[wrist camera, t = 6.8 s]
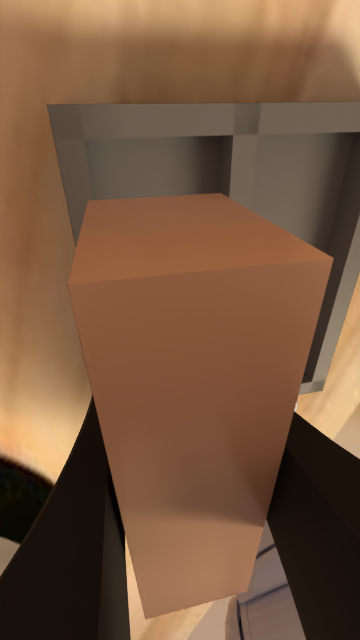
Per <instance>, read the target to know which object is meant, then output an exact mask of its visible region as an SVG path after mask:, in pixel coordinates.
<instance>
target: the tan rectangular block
mask: <svg viewBox="0 0 360 640" xmlns="http://www.w3.org/2000/svg"><path fill="white" fill-rule="evenodd" d="M333 259H334V258H333V257H331V256H329V255H327V254H326V253H324V252H322V251H320V250H319V249H317V248H315V247H313V246H312V245H310V244H308V243H307V242H305V241H303V240H301V239H300V238H298V237H296V236H294V235H293V234H291V233H289V232H287V231H286V230H284V229H282V228H281V227H279V226H277V225H275V224H274V223H272V222H270V221H268V220H267V219H265V218H263V217H261V216H260V215H258V214H256V213H254V212H253V211H251V210H249V209H248V208H246V207H244V206H242V205H241V204H239V203H237V202H235V201H234V200H232V199H230V198H228V197H227V196H225V195H223V194H222V193H213V194H195V195H178V196H160V197H143V198H125V199H108V200H90V201H88V202H87V206H86V210H85V214H84V218H83V222H82V226H81V231H80V235H79V239H78V243H77V247H76V251H75V255H74V259H73V263H72V267H71V271H70V275H69V279H68V283H67V286H68V290H69V294H70V299H71V303H72V307H73V312H74V316H75V320H76V324H77V329H78V333H79V337H80V342H81V346H82V350H83V354H84V359H85V363H86V367H87V372H88V376H89V380H90V384H91V389H92V393H93V397H94V402H95V406H96V410H97V414H98V419H99V423H100V427H101V432H102V436H103V440H104V444H105V449H106V453H107V457H108V462H109V466H110V470H111V474H112V479H113V483H114V487H115V492H116V496H117V500H118V504H119V509H120V513H121V517H122V522H123V526H124V530H125V534H126V539H127V543H128V547H129V552H130V556H131V560H132V564H133V569H134V573H135V577H136V582H137V586H138V590H139V594H140V599H141V603H142V607H143V611H144V616H145V620H146V619H149V618H153V617H156V616H160V615H164V614H167V613H171V612H175V611H178V610H182V609H186V608H189V607H193V606H196V605H200V604H204V603H207V602H211V601H215V600H218V599H222V598H226V597H229V596H233V595H236V594H240V593H244V592H247V590H248V587H249V583H250V579H251V575H252V571H253V567H254V563H255V560H256V556H257V552H258V548H259V544H260V540H261V537H262V533H263V529H264V525H265V521H266V517H267V513H268V510H269V506H270V502H271V498H272V494H273V490H274V486H275V483H276V479H277V475H278V471H279V467H280V463H281V460H282V456H283V452H284V448H285V444H286V440H287V436H288V433H289V429H290V425H291V421H292V417H293V413H294V409H295V406H296V402H297V398H298V394H299V390H300V386H301V383H302V379H303V375H304V371H305V367H306V363H307V359H308V356H309V352H310V348H311V344H312V340H313V336H314V333H315V329H316V325H317V321H318V317H319V313H320V309H321V306H322V302H323V298H324V294H325V290H326V286H327V282H328V279H329V275H330V271H331V267H332V263H333Z"/></svg>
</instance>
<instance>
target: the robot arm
mask: <svg viewBox="0 0 360 640" xmlns="http://www.w3.org/2000/svg"><path fill="white" fill-rule="evenodd" d="M297 406H298V403H297V402H296V406H295V409H294V413H293V417H292V421H291V425H290V429H289V433H288V436H287V440H286V444H285V448H284V452H283V456H282V460H281V463H280V467H279V471H278V475H277V479H276V483H275V486H274V490H273V494H272V498H271V502H270V506H269V510H268V513H267V517H266V521H265V525H264V529H263V533H262V537H261V540H260V544H259V548H258V552H257V556H256V560H255V563H254V567H253V571H252V575H251V579H250V583H249V587H248V590H247V592H244V593H240V594H236V596H234V597H232V598H231V600H230V601H229V605H228V611H227V616H226V621H225V640H360V459H359V458H357V457H355V456H354V455H353V454H351V453H350V452H348V451H346V450H345V449H344V448H342V447H341V446H339V445H338V444H336V443H335V442H334V441H332V440H331V439H329V438H328V437H327V436H325V435H324V434H323V433H321V432H320V431H319V430H317V429H316V428H315V427H313V426H312V425H311V424H310V423H308V422H307V421H306V420H305V419H303V418H302V417H301V416H300V415H298V414H297V413H296V410H297ZM0 640H131V639H130V623H129V608H128V592H127V576H126V560H125V530H124V526H123V522H122V517H121V513H120V509H119V504H118V500H117V496H116V492H115V487H114V483H113V479H112V474H111V470H110V466H109V462H108V457H107V453H106V449H105V444H104V440H103V436H102V432H101V427H100V423H99V419H98V414H97V410H96V406H95V402H94V397H93V394H92V398H91V402H90V405H89V408H88V411H87V414H86V417H85V419H84V422H83V424H82V427H81V430H80V432H79V434H78V437H77V439H76V441H75V444H74V446H73V448H72V451H71V453H70V455H69V457H68V459H67V461H66V463H65V465H64V467H63V470H62V472H61V474H60V476H59V478H58V480H57V482H56V484H55V486H54V488H53V490H52V491H51V493H50V495H49V497H48V499H47V501H46V503H45V504H44V506H43V508H42V510H41V511H40V513H39V515H38V517H37V518H36V520H35V522H34V524H33V525H32V527H31V529H30V530H29V532H28V534H27V535H26V537H25V538H24V540H23V542H22V543H21V545H20V546H19V548H18V550H17V551H16V553H15V554H14V556H13V558H12V559H11V561H10V562H9V564H8V566H7V567H6V569H5V570H4V572H3V573H2V575H1V576H0Z"/></svg>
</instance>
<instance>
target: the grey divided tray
mask: <svg viewBox="0 0 360 640" xmlns="http://www.w3.org/2000/svg"><path fill="white" fill-rule="evenodd" d="M47 107H48V112H49V117H50V122H51V127H52V132H53V137H54V142H55V147H56V152H57V157H58V162H59V167H60V171H61V176H62V181H63V186H64V191H65V196H66V201H67V206H68V211H69V216H70V221H71V226H72V231H73V236H74V241H75V246H76V247H77V243H78V239H79V235H80V231H81V226H82V222H83V218H84V214H85V210H86V206H87V202H88V201H90V200H108V199H125V198H143V197H160V196H178V195H195V194H213V193H222V194H223V195H225V196H227V197H228V198H230V199H232V200H234V201H235V202H237V203H239V204H241V205H242V206H244V207H246V208H248V209H249V210H251V211H253V212H254V213H256V214H258V215H260V216H261V217H263V218H265V219H267V220H268V221H270V222H272V223H274V224H275V225H277V226H279V227H281V228H282V229H284V230H286V231H287V232H289V233H291V234H293V235H294V236H296V237H298V238H300V239H301V240H303V241H305V242H307V243H308V244H310V245H312V246H313V247H315V248H317V249H319V250H320V251H322V252H324V253H326V254H327V255H329V256H331V257H333V258H334V259H333V263H332V267H331V271H330V275H329V279H328V282H327V286H326V290H325V294H324V298H323V302H322V306H321V309H320V313H319V317H318V321H317V325H316V329H315V333H314V336H313V340H312V344H311V348H310V352H309V356H308V359H307V363H306V367H305V371H304V375H303V379H302V383H301V386H300V390H299V394H298V395H300V394H306V393H312V392H318V391H322V390H323V387H324V384H325V380H326V377H327V374H328V371H329V368H330V365H331V361H332V358H333V355H334V352H335V349H336V346H337V342H338V339H339V336H340V333H341V330H342V327H343V323H344V320H345V317H346V314H347V311H348V308H349V304H350V301H351V298H352V295H353V292H354V289H355V285H356V282H357V279H358V276H359V273H360V102H292V103H173V104H55V105H47Z"/></svg>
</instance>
